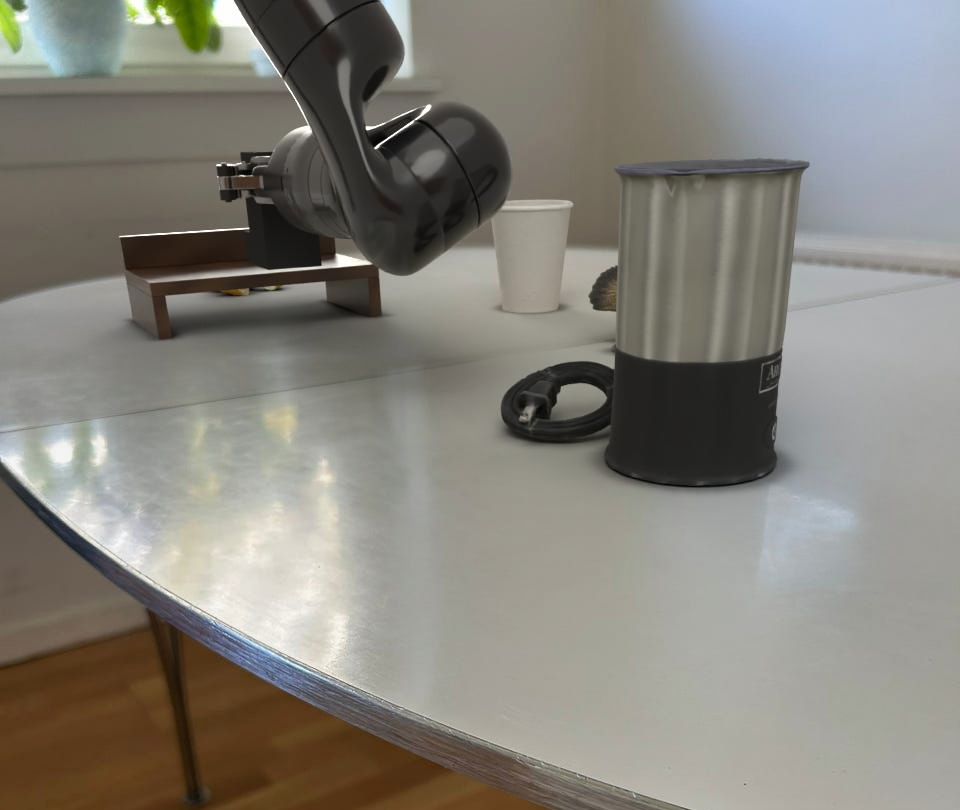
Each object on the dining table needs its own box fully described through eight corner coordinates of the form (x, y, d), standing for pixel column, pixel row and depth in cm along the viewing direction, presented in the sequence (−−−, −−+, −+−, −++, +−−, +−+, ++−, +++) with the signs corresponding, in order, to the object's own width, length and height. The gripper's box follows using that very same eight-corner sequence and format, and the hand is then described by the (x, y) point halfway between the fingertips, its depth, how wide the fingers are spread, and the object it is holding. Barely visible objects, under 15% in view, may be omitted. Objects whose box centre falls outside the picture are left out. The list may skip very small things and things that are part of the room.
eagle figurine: (597, 319, 89) (565, 315, 81) (647, 248, 85) (619, 237, 77) (663, 372, 88) (637, 374, 80) (716, 302, 84) (695, 296, 76)
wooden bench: (159, 340, 91) (143, 247, 87) (133, 320, 101) (118, 236, 98) (382, 316, 100) (376, 230, 96) (337, 300, 110) (330, 222, 106)
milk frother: (784, 494, 49) (824, 162, 43) (471, 483, 52) (462, 169, 45) (762, 419, 62) (791, 154, 55) (511, 414, 64) (509, 159, 58)
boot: (322, 266, 86) (312, 150, 82) (268, 270, 84) (255, 152, 80) (291, 257, 94) (280, 150, 89) (241, 260, 92) (227, 151, 88)
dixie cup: (574, 314, 98) (576, 204, 93) (489, 316, 98) (487, 206, 94) (568, 301, 105) (570, 198, 101) (490, 303, 106) (488, 200, 101)
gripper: (421, 122, 74) (343, 126, 88) (230, 126, 68) (178, 130, 82) (426, 231, 77) (349, 219, 91) (244, 243, 72) (192, 228, 85)
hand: (269, 176), depth 86 cm, fingers closed on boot, 4 cm apart
